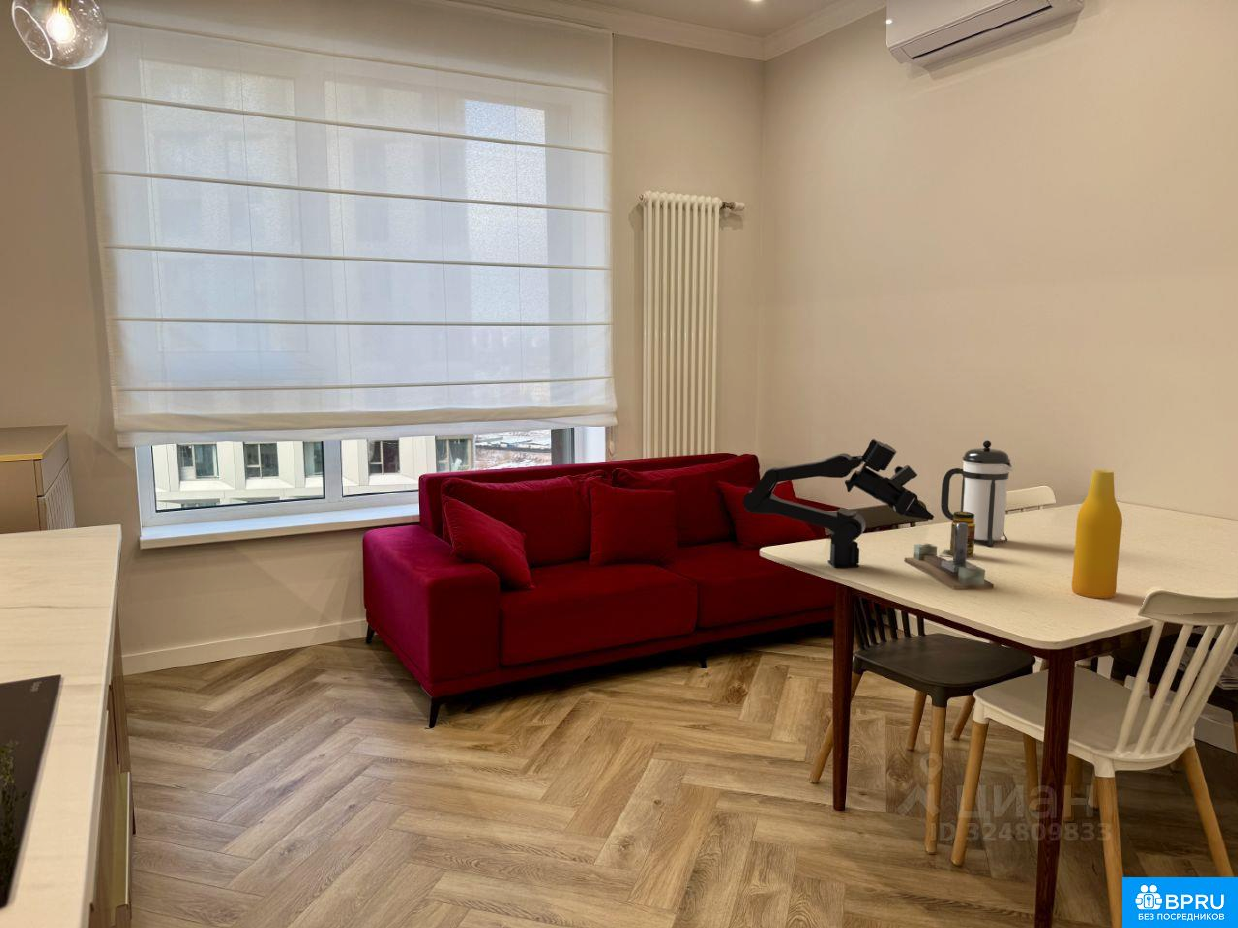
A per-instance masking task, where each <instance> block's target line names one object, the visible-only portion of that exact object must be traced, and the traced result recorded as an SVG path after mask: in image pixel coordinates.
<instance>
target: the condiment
mask: <svg viewBox="0 0 1238 928" xmlns="http://www.w3.org/2000/svg"><path fill="white" fill-rule="evenodd" d="M952 514H953V515H954V517H953V521H952V522H951V526H950V540H949V541H950V542H949V543H950V544H949V549H943V550H942V552H941V553H940V554H939V557H942V556H943V557H951V558H953V552H954V535H955V523H956V522H964V523H968V538H967V554H966V560H973V559H974V557H975V556H976V555H977V553H976V552H974V545H975V539H974V531H975V524H974V522H973V521H974V514H973V513H970V512H963V511H961V510H960V511H955V512H954V513H952Z"/></svg>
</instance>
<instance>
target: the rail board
mask: <svg viewBox="0 0 1238 928" xmlns="http://www.w3.org/2000/svg"><path fill="white" fill-rule="evenodd" d="M946 560H947V559H945V558H943V557H942V556H938V546H937V545H934V544H930V543H924V542H923V543H920V544H914V545H913V557H904V560H903V561H904V563H906V564H909V565H911V566H912V567H914V568H916V569H918V570H919V571H920V572H922V573H925V574H926V575H928V576H930V577H931V578H933V579H935V580H937V581H939V582H941V583H942V584H944V585H945V586H947V587H949V588H951V589H953V590H973V589H975V590H976V589H978V590H980V589H983V590H984V589H994V588H995V583H993V582H990V581H989V580H986V579H985V577H986V570H985V569H983V568H981V567H979V566H977V567H975V566H967V567H959V572H952V571H950V570H948V569H946V568H944V567H942V561H946Z"/></svg>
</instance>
